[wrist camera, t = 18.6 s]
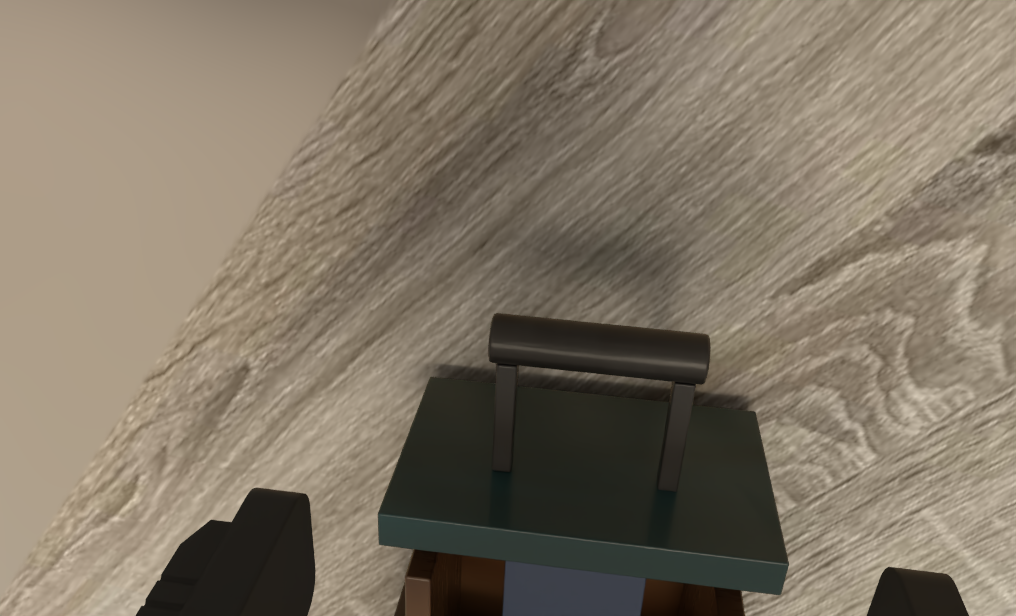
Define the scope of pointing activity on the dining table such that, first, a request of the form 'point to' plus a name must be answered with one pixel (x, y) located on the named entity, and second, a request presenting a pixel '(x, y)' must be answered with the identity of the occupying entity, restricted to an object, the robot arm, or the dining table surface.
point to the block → (569, 592)
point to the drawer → (584, 478)
